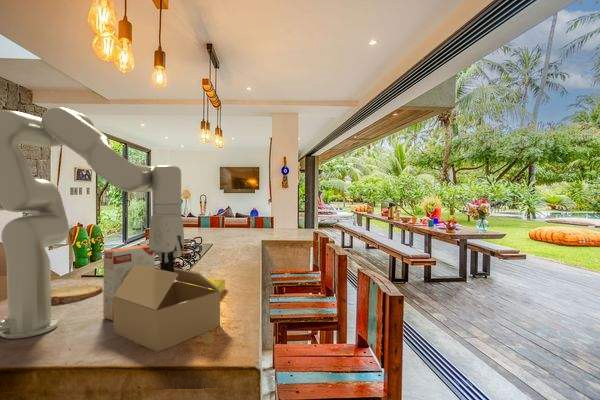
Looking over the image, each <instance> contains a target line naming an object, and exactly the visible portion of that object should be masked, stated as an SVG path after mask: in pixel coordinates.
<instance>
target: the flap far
mask: <svg viewBox="0 0 600 400" xmlns="http://www.w3.org/2000/svg"><path fill="white" fill-rule="evenodd" d="M155 267H158V269H160V270H161V264H158V263H156V264H155ZM174 273H178V276H177V277H176V279H175V280H174V281H178V282H183V283H188V284H192V285H196V286H201V287H205V288H209V289H213V290H218V291H219V288H217V287H216V286H215V285H214V284H212V283H211V282H210V281H209V280H207V279H208V278H206V277H205V276H204V275H203V274H201V273H200V272H198V271H193V270H187V269H183V268H178V267H174Z"/></svg>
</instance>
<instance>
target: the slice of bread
mask: <svg viewBox="0 0 600 400" xmlns="http://www.w3.org/2000/svg"><path fill="white" fill-rule="evenodd" d="M102 293H103V286H101V285H100V284H94V283H92V284H84V285H76V286H67V287H61V288H56V289H51V306H52V305H53V306H55V305H62V304H68V303H72V302H74V303H75V302H78V301H82V300H86V299H90V298H93V297H95V296H98V295H100V294H102Z"/></svg>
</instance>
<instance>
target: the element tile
mask: <svg viewBox="0 0 600 400" xmlns="http://www.w3.org/2000/svg"><path fill="white" fill-rule="evenodd" d="M206 279H207V280H209V281H210V282H211V283H212V284H214V285H215V286H216V287H217V288H219V291H220V297H221V296H222V295H223V293H224V292H225V290H226V280H225V278H206ZM187 284H188V283H187ZM191 285H192V284H191ZM195 286H196V285H195ZM200 287H201V286H200ZM204 288H205V287H204ZM208 289H209V288H208ZM212 290H213V289H212ZM216 291H218V290H216Z"/></svg>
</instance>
